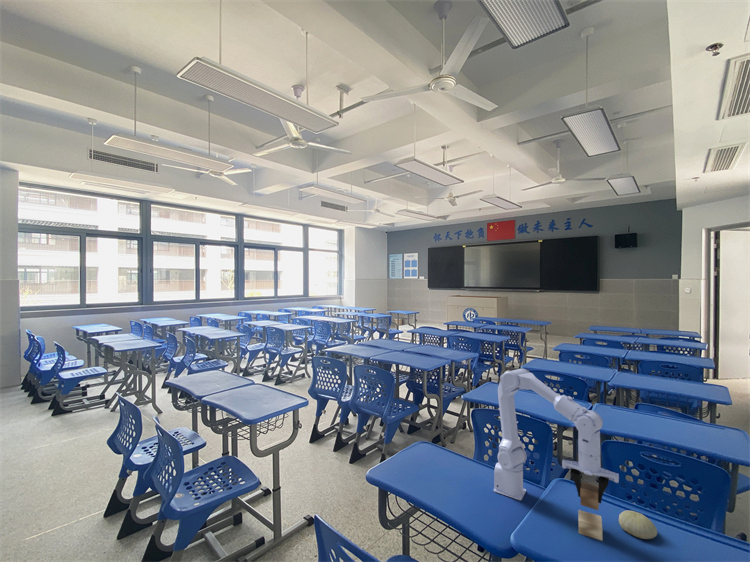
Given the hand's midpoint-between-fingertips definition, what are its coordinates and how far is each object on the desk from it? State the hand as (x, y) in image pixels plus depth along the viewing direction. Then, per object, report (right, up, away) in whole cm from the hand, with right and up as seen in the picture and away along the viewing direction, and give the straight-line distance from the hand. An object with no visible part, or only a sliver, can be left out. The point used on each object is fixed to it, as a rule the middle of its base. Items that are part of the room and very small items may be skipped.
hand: (589, 498), depth 104 cm
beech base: (0, -10, 0) cm, 10 cm away
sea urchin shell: (+14, -10, 0) cm, 18 cm away
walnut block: (0, -2, 0) cm, 2 cm away
